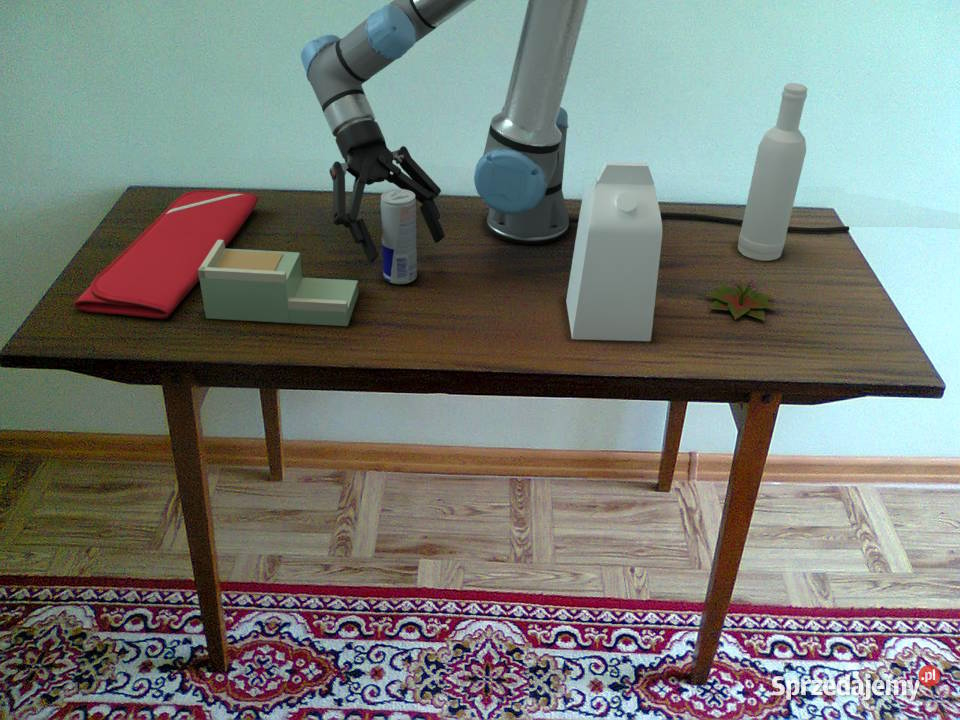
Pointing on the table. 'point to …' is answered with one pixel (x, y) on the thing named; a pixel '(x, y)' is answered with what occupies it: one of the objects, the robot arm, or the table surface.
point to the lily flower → (741, 300)
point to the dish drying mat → (167, 255)
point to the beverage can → (399, 236)
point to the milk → (616, 256)
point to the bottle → (775, 181)
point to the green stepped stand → (271, 289)
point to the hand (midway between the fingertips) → (407, 249)
